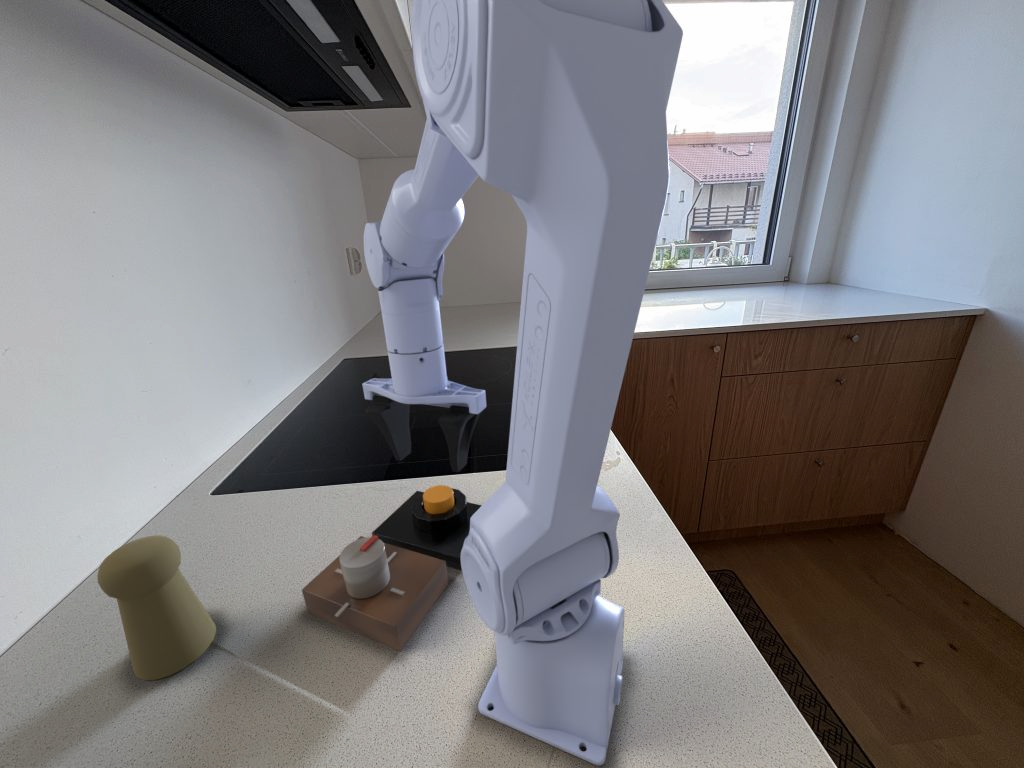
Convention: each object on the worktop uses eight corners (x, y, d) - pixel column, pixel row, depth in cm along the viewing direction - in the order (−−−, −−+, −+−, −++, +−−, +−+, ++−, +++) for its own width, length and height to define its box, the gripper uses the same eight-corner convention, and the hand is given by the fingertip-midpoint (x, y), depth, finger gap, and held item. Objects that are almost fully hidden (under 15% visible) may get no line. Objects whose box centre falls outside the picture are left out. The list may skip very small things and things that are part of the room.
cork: (116, 687, 35) (61, 584, 31) (158, 625, 40) (116, 531, 37) (196, 671, 36) (153, 568, 32) (227, 612, 41) (193, 519, 38)
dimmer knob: (370, 604, 38) (363, 570, 36) (337, 591, 39) (328, 558, 38) (398, 572, 41) (392, 540, 40) (366, 562, 43) (360, 530, 41)
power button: (460, 500, 52) (458, 488, 51) (444, 518, 49) (442, 505, 48) (435, 494, 53) (433, 482, 52) (418, 511, 50) (416, 499, 49)
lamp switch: (498, 520, 53) (496, 496, 51) (462, 571, 45) (459, 544, 44) (418, 501, 57) (415, 478, 56) (373, 544, 49) (368, 519, 48)
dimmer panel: (448, 583, 43) (445, 559, 42) (392, 663, 35) (386, 635, 34) (365, 557, 48) (360, 534, 46) (298, 623, 40) (291, 597, 39)
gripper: (495, 341, 44) (502, 454, 49) (384, 334, 50) (400, 437, 54) (462, 360, 38) (474, 487, 43) (340, 350, 44) (362, 464, 48)
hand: (430, 461), depth 48 cm, fingers open, 7 cm apart
